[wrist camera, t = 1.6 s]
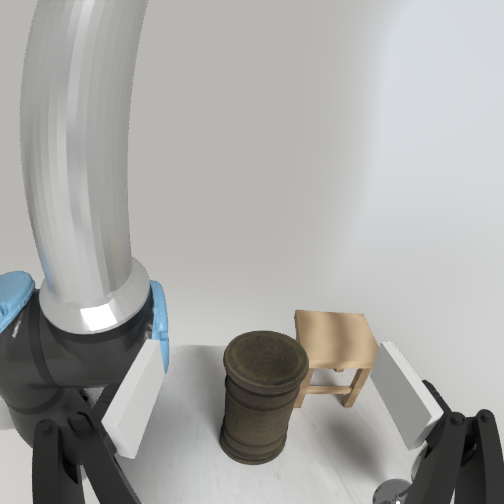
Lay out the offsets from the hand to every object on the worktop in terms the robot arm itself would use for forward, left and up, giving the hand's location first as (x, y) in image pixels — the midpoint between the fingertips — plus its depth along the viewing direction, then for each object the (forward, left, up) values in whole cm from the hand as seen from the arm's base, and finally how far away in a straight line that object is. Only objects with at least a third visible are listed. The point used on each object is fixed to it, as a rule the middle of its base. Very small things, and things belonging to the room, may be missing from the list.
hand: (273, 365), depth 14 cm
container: (0, +8, -25) cm, 26 cm away
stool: (+11, +20, -25) cm, 34 cm away
